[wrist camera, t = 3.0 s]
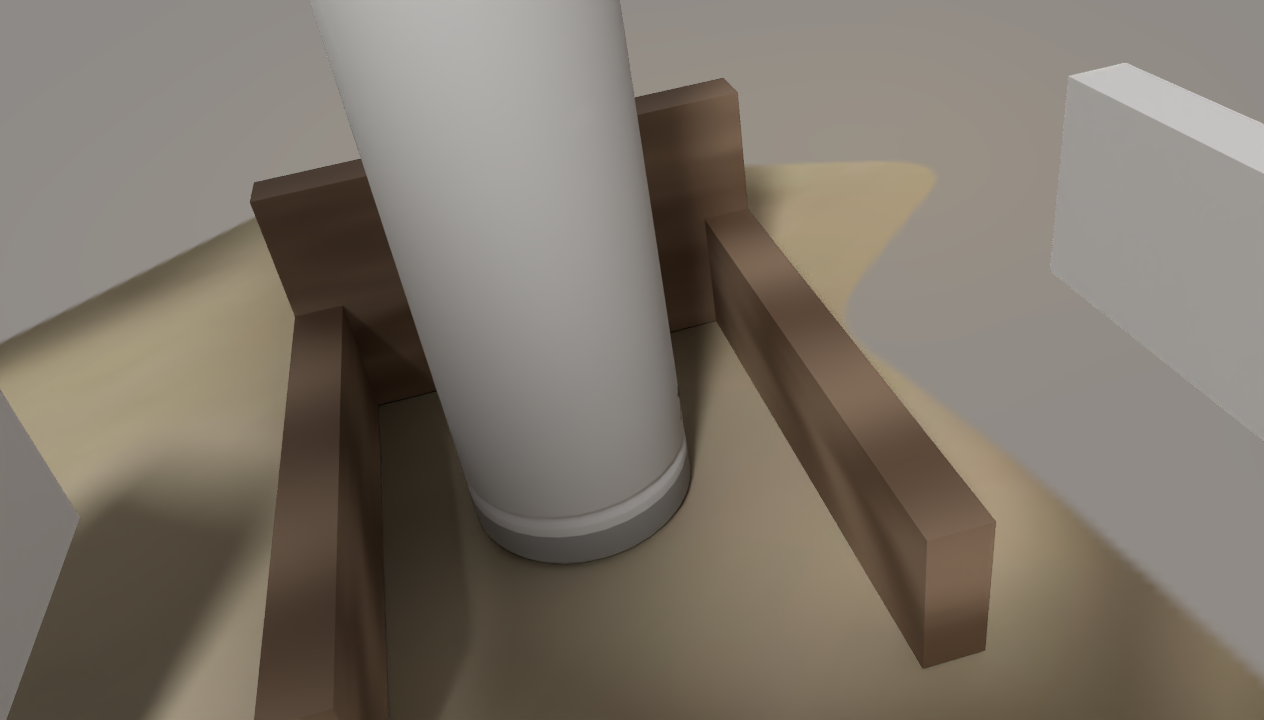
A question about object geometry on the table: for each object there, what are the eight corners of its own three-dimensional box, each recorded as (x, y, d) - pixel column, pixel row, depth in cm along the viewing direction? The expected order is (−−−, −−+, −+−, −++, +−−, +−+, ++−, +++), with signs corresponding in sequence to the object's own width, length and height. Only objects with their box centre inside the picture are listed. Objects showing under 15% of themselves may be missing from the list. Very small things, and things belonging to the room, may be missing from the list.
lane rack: (985, 649, 23) (1009, 361, 18) (320, 847, 21) (166, 583, 16) (736, 280, 37) (716, 71, 33) (335, 379, 36) (256, 173, 31)
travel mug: (731, 435, 30) (634, -393, 18) (626, 596, 25) (413, -367, 14) (556, 396, 33) (378, -342, 21) (434, 534, 28) (127, -306, 17)
